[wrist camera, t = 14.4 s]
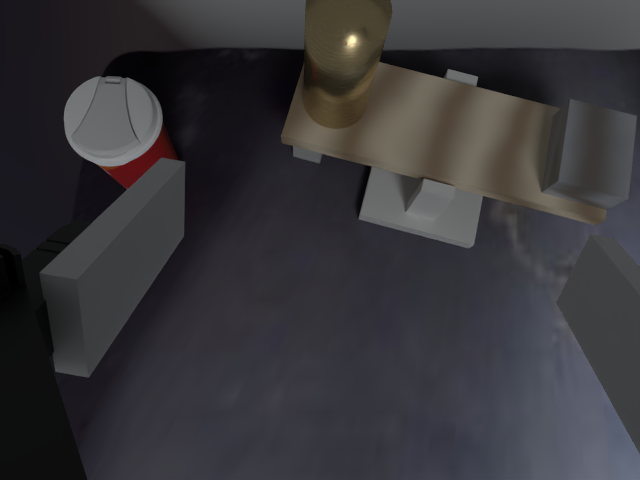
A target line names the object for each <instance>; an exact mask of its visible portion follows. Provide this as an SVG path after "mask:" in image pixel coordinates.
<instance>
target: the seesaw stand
mask: <svg viewBox="0 0 640 480" xmlns="http://www.w3.org/2000/svg"><path fill="white" fill-rule="evenodd" d="M444 79H448V80H452V81H456V82H459V83H463V84H467V85H471V86H475V87H476V85H477V80H478V77H477V76H473V75H469V74H465V73H461V72H458V71H454V70H450V69H448V70H447V72H446V74H445V76H444ZM293 157H297V158H301V159H305V160H308V161H312V162H316V163H320V161H321V158H322V153H318V152H314V151H310V150H306V149H303V148H299V147H295V146H293ZM482 198H483V196H482V195H479V194H475V193H471V192H467V191H463V190H460V189H456V187H454V186H451V185H447V184H443V183H439V182H435V181H432V180H428V179H423V180H421V179H417V178H414V177H410V176H406V175H402V174H398V173H394V172H391V171H387V170H383V169H379V168H375V167H371V171H370V174H369V178H368V182H367V186H366V190H365V194H364V198H363V202H362V206H361V210H360V214H359V218H358V219H360V220H364V221H367V222H371V223H375V224H379V225H382V226H386V227H390V228H394V229H398V230H401V231H405V232H409V233H413V234H416V235H420V236H424V237H428V238H431V239H435V240H439V241H443V242H447V243H450V244H454V245H458V246H462V247H465V248H470V247H472V246H473V245H474V241H475V236H476V230H477V225H478V220H479V214H480V209H481V203H482Z"/></svg>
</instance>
